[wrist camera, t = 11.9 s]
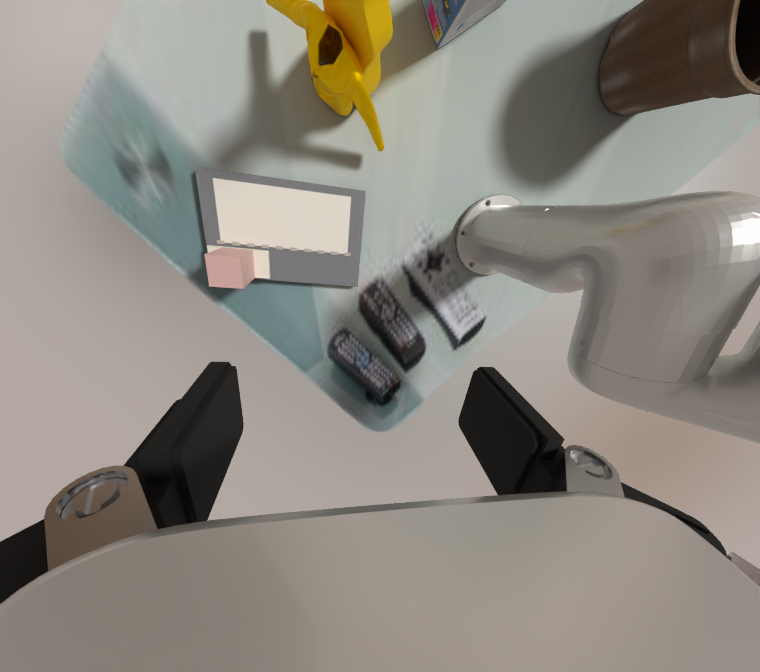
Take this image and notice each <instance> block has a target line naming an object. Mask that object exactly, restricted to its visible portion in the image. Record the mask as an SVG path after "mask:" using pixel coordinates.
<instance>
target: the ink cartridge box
mask: <svg viewBox="0 0 760 672" xmlns="http://www.w3.org/2000/svg"><path fill="white" fill-rule="evenodd" d="M505 2H506V0H423V4H424V8H425V12H426V15H427V18H428V21H429V25H430V28H431V31H432V35H433V38H434V41H435V44H436V47H437V48H440V47H442V46H443V45H445V44H446V43H448V42H449V41H451V40H452V39H453V38H455V37H456V36H458V35H459V34H461V33H462V32H463V31H465V30H466V29H468V28H469V27H471V26H472V25H473V24H475V23H476V22H478V21H479V20H481V19H482V18H483V17H485V16H486V15H488V14H489V13H491V12H492V11H493V10H495V9H496V8H498V7H499V6H501V5H502V4H503V3H505Z"/></svg>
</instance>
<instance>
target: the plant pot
mask: <svg viewBox="0 0 760 672" xmlns="http://www.w3.org/2000/svg"><path fill="white" fill-rule="evenodd" d="M599 88H600V93H601V97H602V100H603V102H604V104H605V106H606V107H607V108H608V109H609V110H610V111H611V112H614V113H618V114H620V115H622V116H628V115H633V114H637V113H642V112H646V111H651V110H656V109H660V108H665V107H669V106H674V105H679V104H683V103H688V102H693V101H698V100H703V99H708V98H713V97H715V98H727V97H732V96H738V95H743V94H749V93H752V94H756V95H760V0H644V1H642V2H641V3H640V4H638V5H637V6H636V7H634V8H633V9H632V10H631V11H630V12H629V13H627V14H626V15H625V16H624V18H623V19H622V20H621V21H620V22H619V24H618V25H617V26H616V28H615V29H614V31H613V33H612V34H611V36H610V38H609V45H608V48H607V50H606V52H605V54H604V55H603V57H602V59H601V64H600V70H599Z"/></svg>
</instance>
